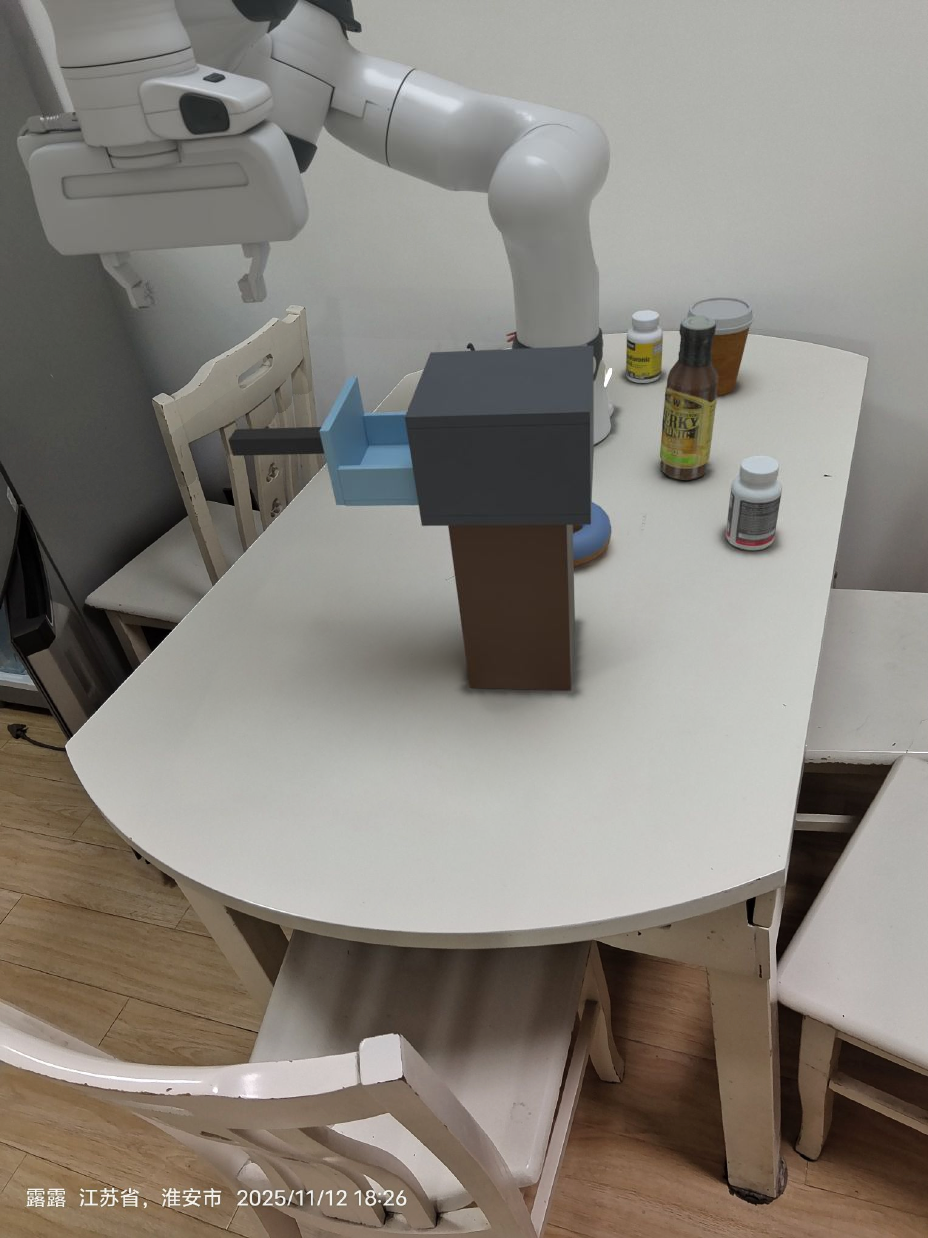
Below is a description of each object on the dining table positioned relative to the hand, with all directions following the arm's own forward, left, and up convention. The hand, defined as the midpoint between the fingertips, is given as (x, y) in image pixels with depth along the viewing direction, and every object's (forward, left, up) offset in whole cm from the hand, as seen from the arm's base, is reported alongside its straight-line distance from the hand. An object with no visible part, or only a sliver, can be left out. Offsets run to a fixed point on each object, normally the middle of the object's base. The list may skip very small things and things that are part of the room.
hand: (200, 302), depth 68 cm
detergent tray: (+8, +8, -16) cm, 19 cm away
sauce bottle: (0, +55, -37) cm, 66 cm away
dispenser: (+16, +18, -37) cm, 44 cm away
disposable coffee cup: (-15, +75, -37) cm, 85 cm away
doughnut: (+4, +33, -37) cm, 50 cm away
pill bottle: (+16, +50, -37) cm, 64 cm away
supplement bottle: (-25, +70, -37) cm, 83 cm away
